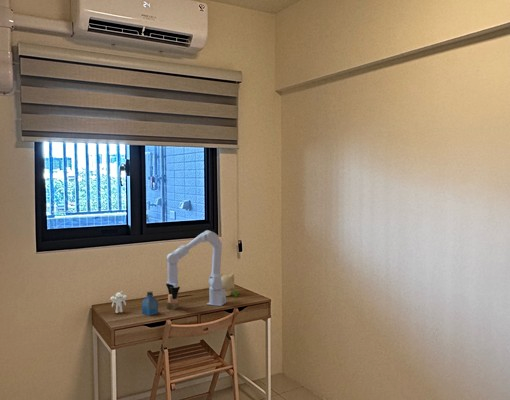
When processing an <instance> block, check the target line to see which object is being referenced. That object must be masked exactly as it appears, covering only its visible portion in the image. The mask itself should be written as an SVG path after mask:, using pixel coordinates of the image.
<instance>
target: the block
mask: <svg viewBox="0 0 510 400" xmlns="http://www.w3.org/2000/svg"><path fill="white" fill-rule="evenodd" d="M178 299H179V295H178V294H177V299H173V298H172V294H169V293H168V294H167V302H169V303H177V302H178V303H179V300H178Z"/></svg>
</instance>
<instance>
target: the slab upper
mask: <svg viewBox="0 0 510 400" xmlns="http://www.w3.org/2000/svg"><path fill="white" fill-rule="evenodd" d="M177 305H179V301H178V302H177V303H169V302H168V301H167V302H166V307H167V306H170V307H175V306H177Z"/></svg>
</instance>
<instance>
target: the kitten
mask: <svg viewBox="0 0 510 400" xmlns="http://www.w3.org/2000/svg"><path fill="white" fill-rule="evenodd" d="M220 275H221V281H222V287H221V289H223V290H225V292H226V297H230V296H231V295H233V297H234V298H235V297H238V296H239V295H238V294H239V289H238V288H237V291H236V293H235V292H234V288H235V287H236V286H235V285H236V284H235V274H234V273H233V272H232V273H230V274H222V273H220Z"/></svg>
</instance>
